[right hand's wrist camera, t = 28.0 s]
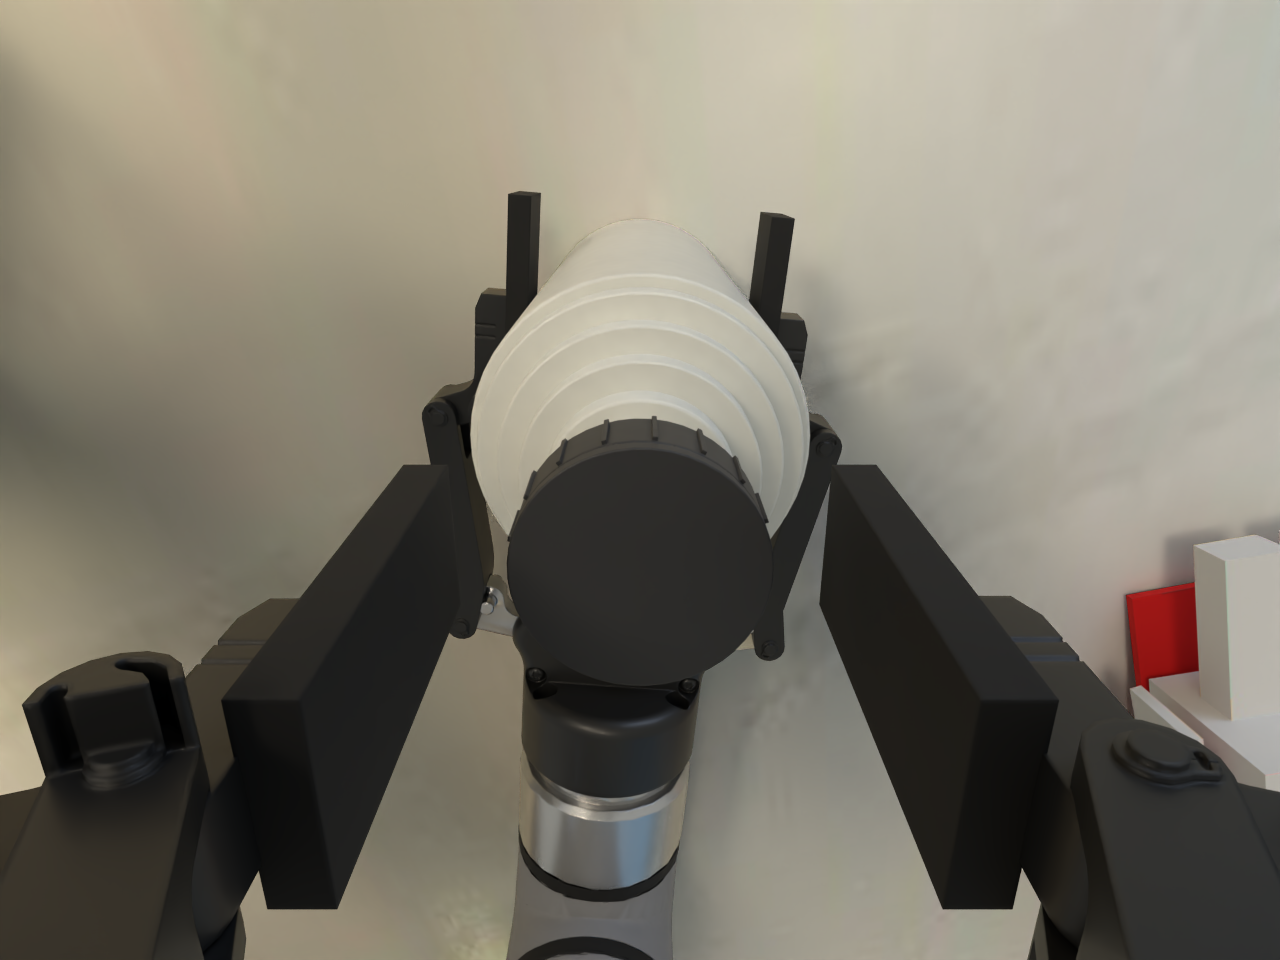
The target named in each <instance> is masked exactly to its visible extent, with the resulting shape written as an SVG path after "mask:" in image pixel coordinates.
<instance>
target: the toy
mask: <svg viewBox="0 0 1280 960" xmlns="http://www.w3.org/2000/svg"><path fill="white" fill-rule="evenodd" d="M1193 555H1194V576H1195V582H1193V583H1188V584H1183V585H1177V586H1172V587H1167V588H1161V589H1156V590H1151V591H1145V592H1140V593H1135V594H1130V595H1126V599H1127V608H1128V617H1129V626H1130V635H1131V644H1132V653H1133V662H1134V671H1135V680H1136V687H1133V688H1130V694H1131V699H1132V705H1133V711H1134V717H1135V719H1138V720H1144V721H1148V722H1151V723H1155V724H1158V725H1162V726H1165V727H1169V728H1171V729H1174V730H1176V731H1178V732H1180V733H1182V734H1184V735H1186V736H1188V737H1190V738H1192V739H1195V740H1197V741H1198V742H1200V743H1201V744H1202V745H1204V746H1205V747H1207V748H1208V749H1209V750H1211V751H1212V752H1213V753H1215V754H1216V755H1217V756H1219V757H1220V758H1221V759H1222V760H1223V762H1224V763H1225V764H1226V766H1227V767H1228V768H1229V770H1230V771H1231V772H1232V773H1233V775H1234V776H1235V778H1236V780H1237V782H1238V783H1242V784H1245V785H1249V786H1254V787H1259V788H1264V789H1268V790H1273V791H1278V792H1280V530H1279V544H1277V543H1275V542H1273V541H1270V540H1268V539H1266V538H1263V537H1261V536H1259V535H1256V534H1255V535H1249V536H1243V537H1237V538H1232V539H1226V540H1220V541H1214V542H1208V543H1202V544H1196V545H1193Z"/></svg>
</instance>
